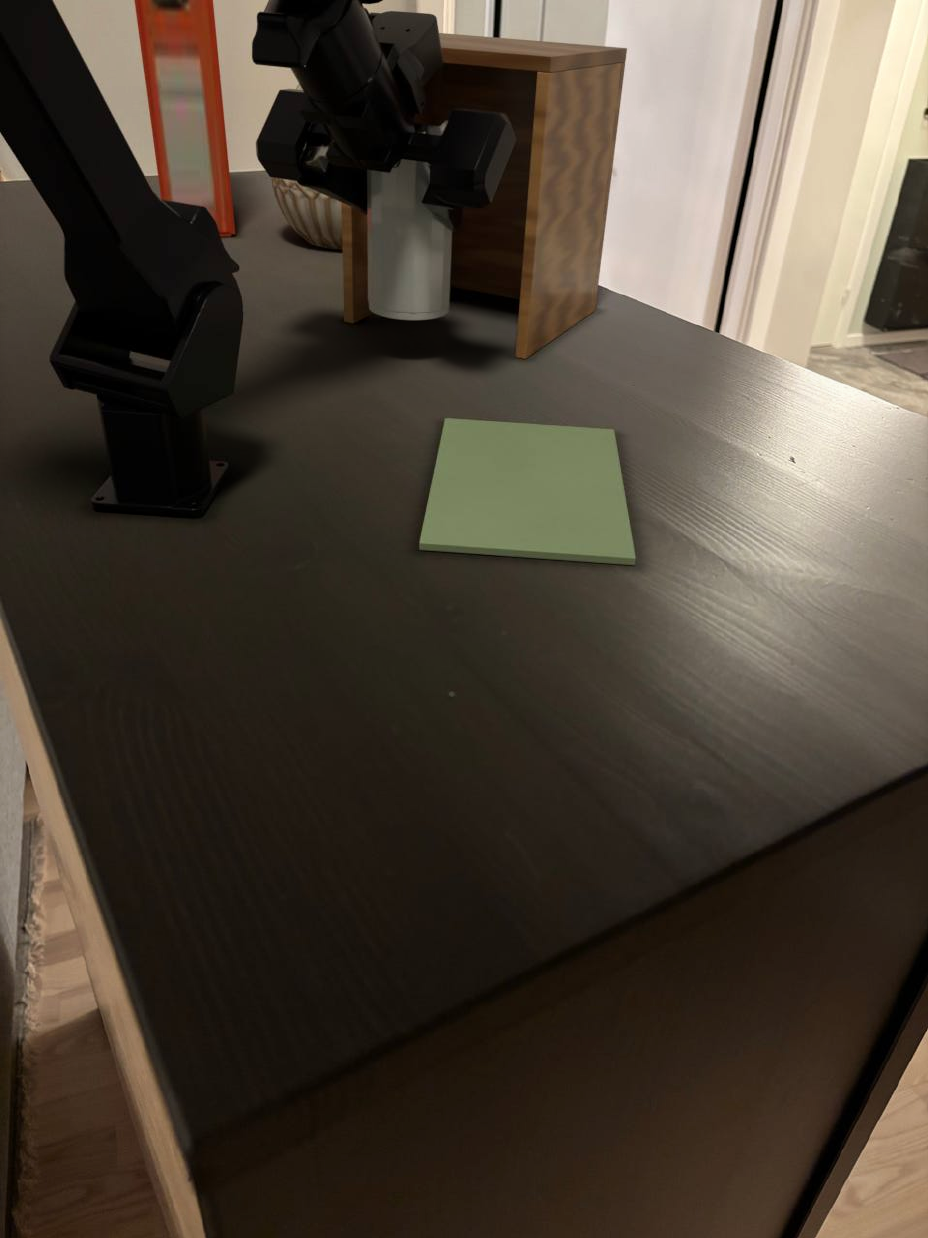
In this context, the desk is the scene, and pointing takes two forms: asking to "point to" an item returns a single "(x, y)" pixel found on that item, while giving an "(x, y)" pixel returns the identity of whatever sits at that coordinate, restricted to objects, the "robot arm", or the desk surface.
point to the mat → (528, 493)
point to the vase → (310, 212)
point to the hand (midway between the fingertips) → (419, 220)
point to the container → (406, 246)
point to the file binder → (186, 104)
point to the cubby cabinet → (524, 179)
